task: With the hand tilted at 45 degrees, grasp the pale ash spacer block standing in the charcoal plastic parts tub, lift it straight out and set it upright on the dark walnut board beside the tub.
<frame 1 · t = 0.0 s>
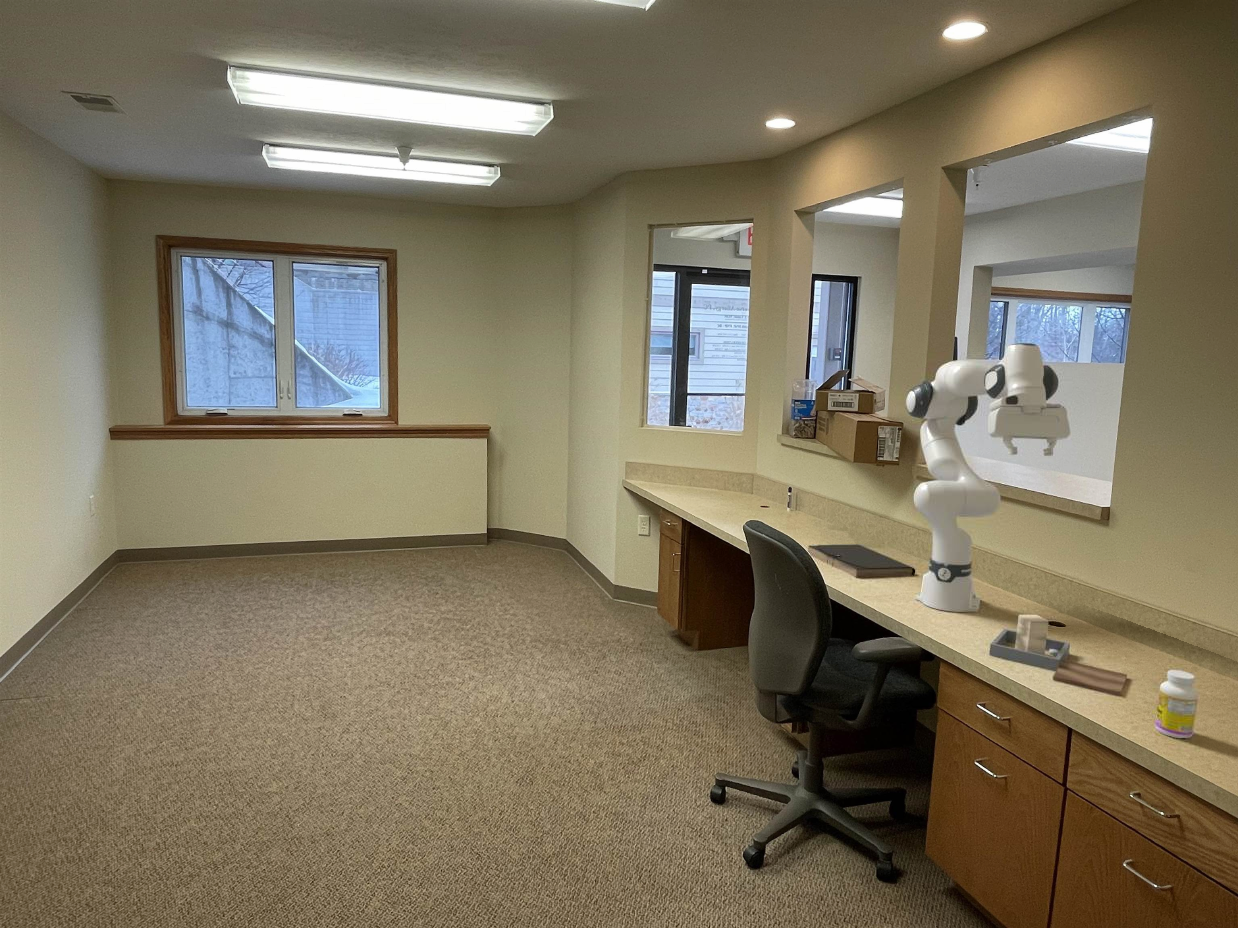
hand: (1030, 455, 211), 52 cm above the table, tool tilted 20°, fingers open, 8 cm apart
supplement bottle: (1172, 733, 172), on the table
ash spacer block: (1031, 636, 214), in the parts tub
walnut board: (1090, 679, 199), on the table
dark flat wooden case: (858, 565, 301), on the table
parts tub: (1029, 654, 215), on the table
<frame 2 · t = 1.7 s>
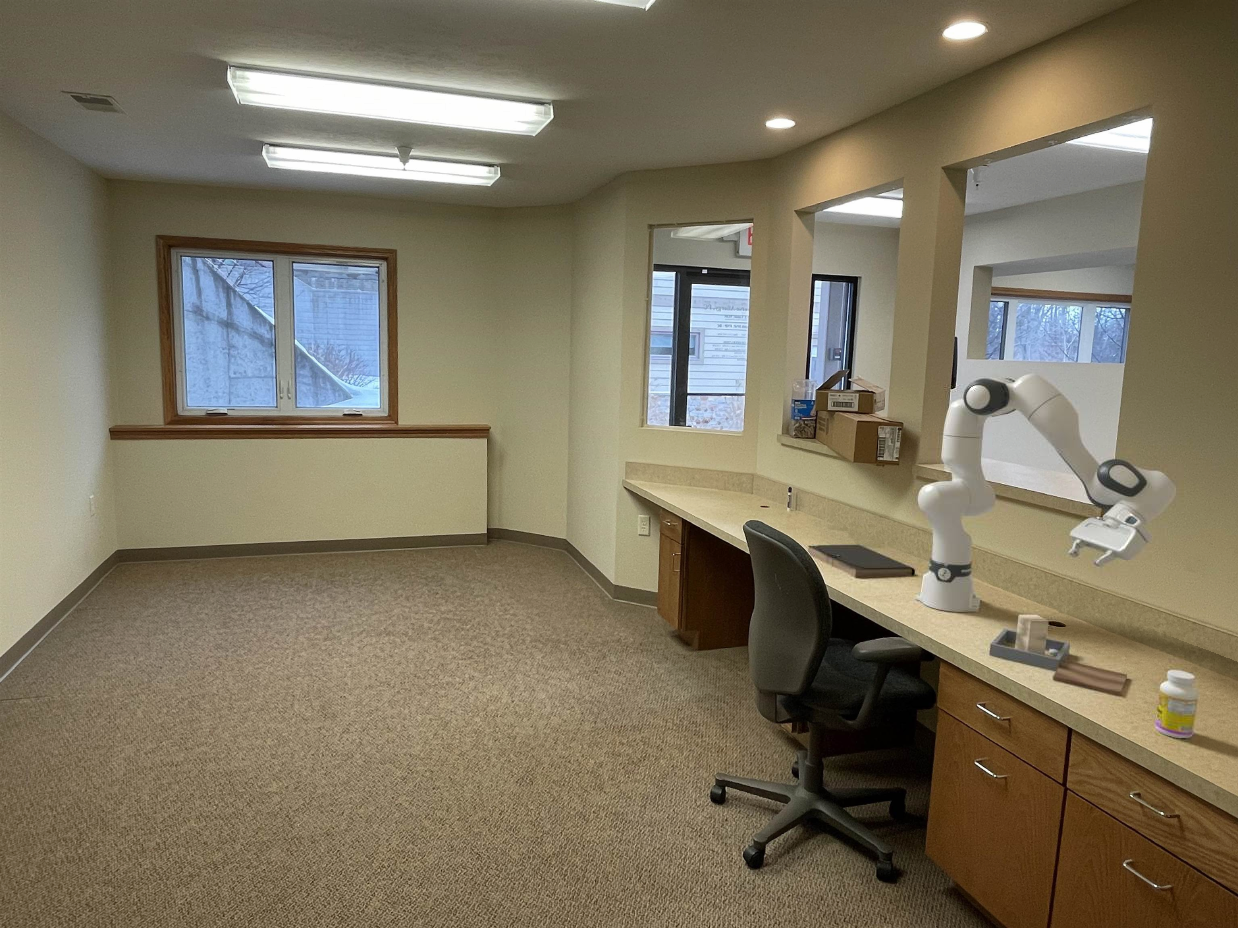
hand: (1083, 559, 213), 25 cm above the table, tool tilted 45°, fingers open, 8 cm apart
nothing on the table moved.
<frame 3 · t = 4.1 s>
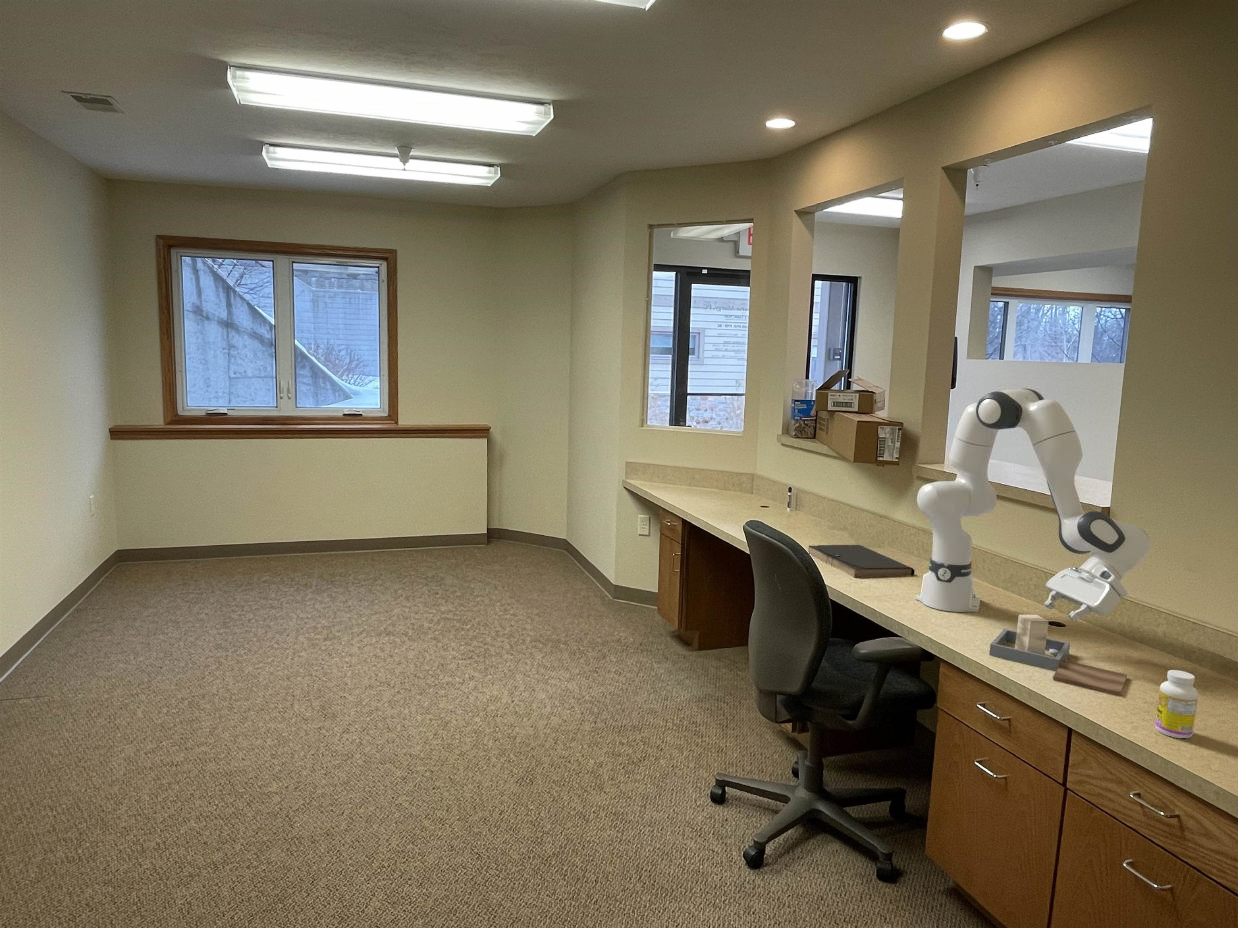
hand: (1058, 612, 214), 11 cm above the table, tool tilted 45°, fingers open, 8 cm apart
nothing on the table moved.
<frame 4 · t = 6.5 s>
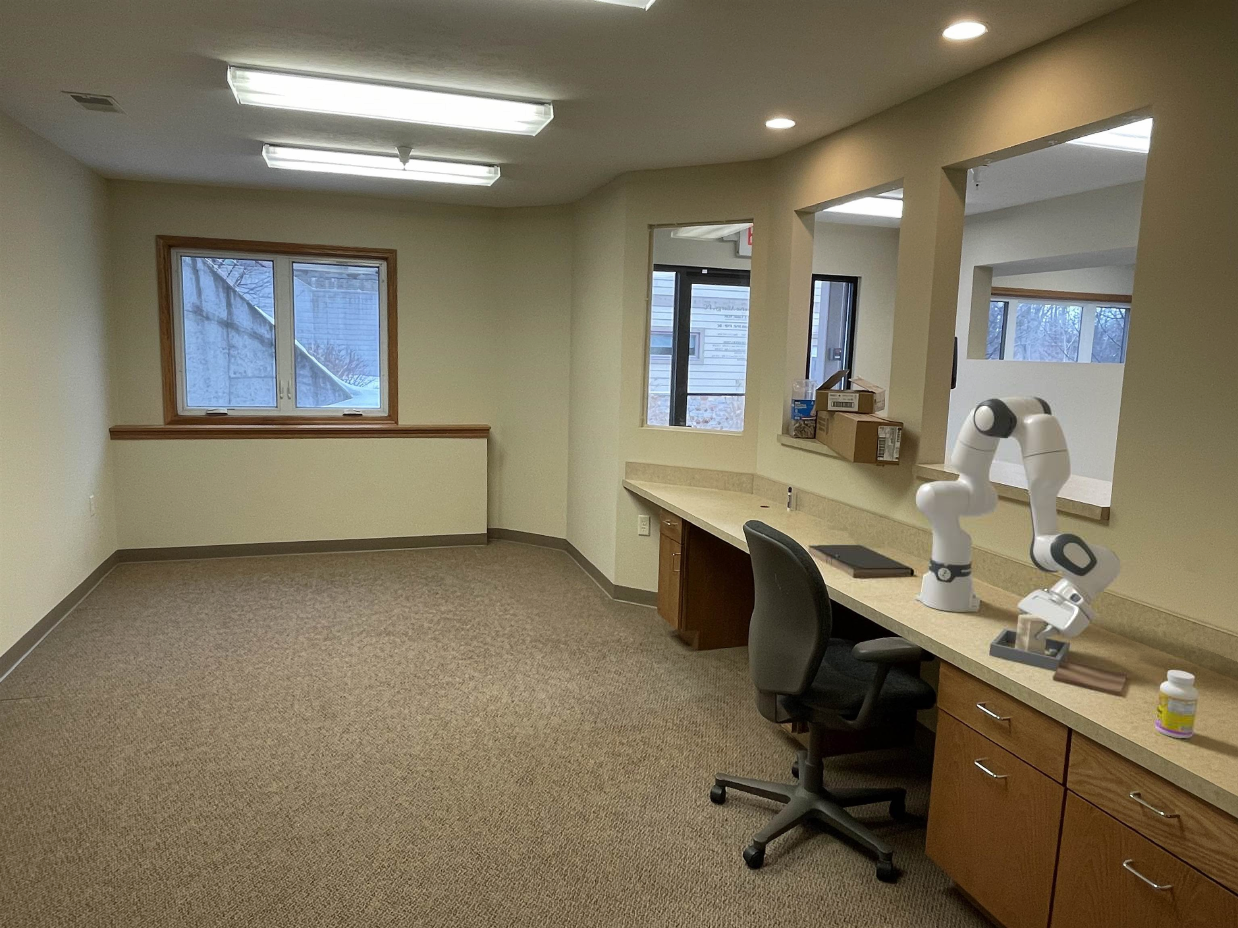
hand: (1029, 634, 214), 5 cm above the table, tool tilted 45°, fingers closed on ash spacer block, 5 cm apart
ash spacer block: (1031, 636, 214), in the parts tub, touching gripper
everything else where it was.
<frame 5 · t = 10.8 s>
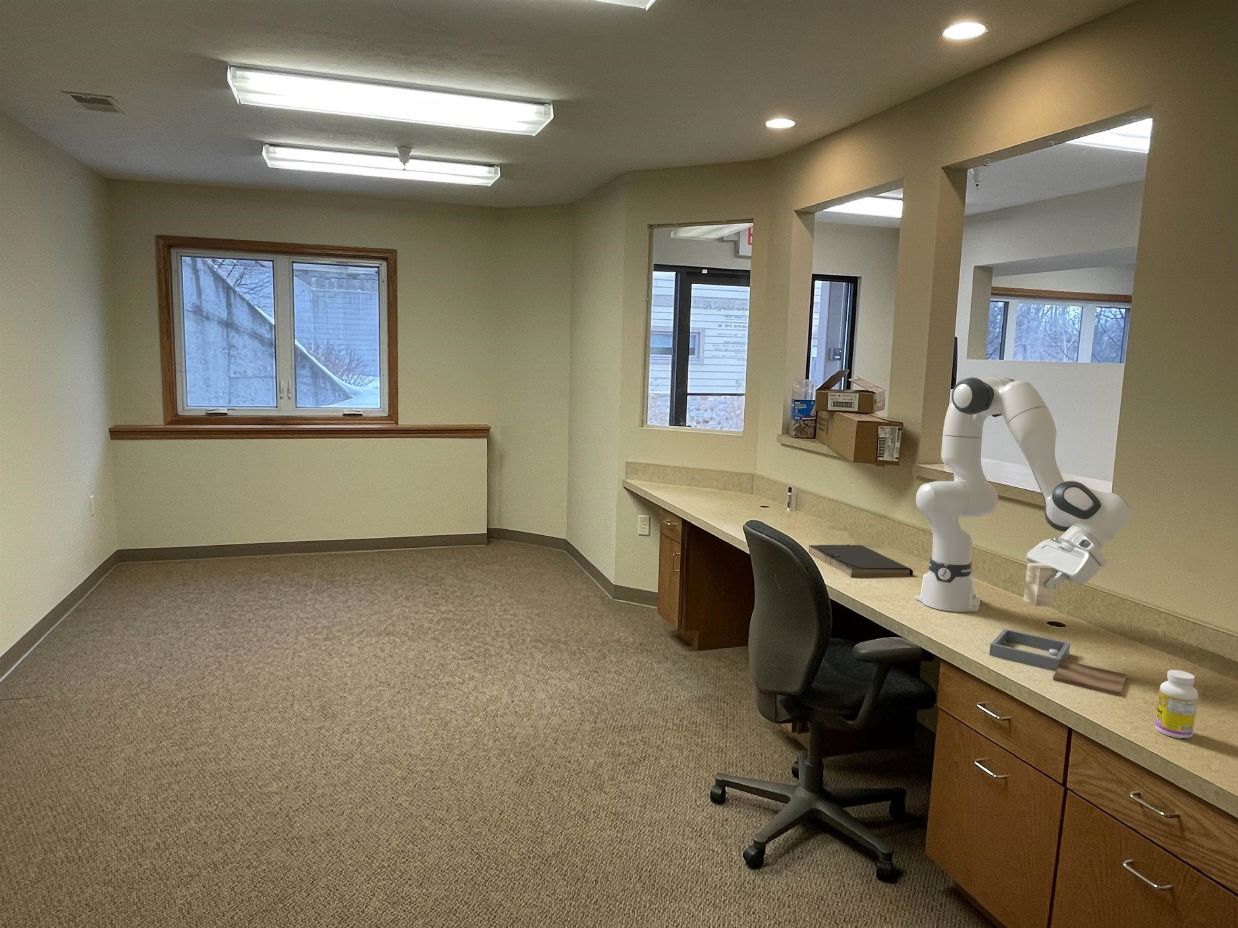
hand: (1038, 582, 211), 20 cm above the table, tool tilted 45°, fingers closed on ash spacer block, 5 cm apart
ash spacer block: (1040, 584, 211), point 19 cm above the table, touching gripper
everything else where it was.
when the fingers open (8 cm above the table, at t = 15.2 s): ash spacer block drops 1 cm, resting on walnut board.
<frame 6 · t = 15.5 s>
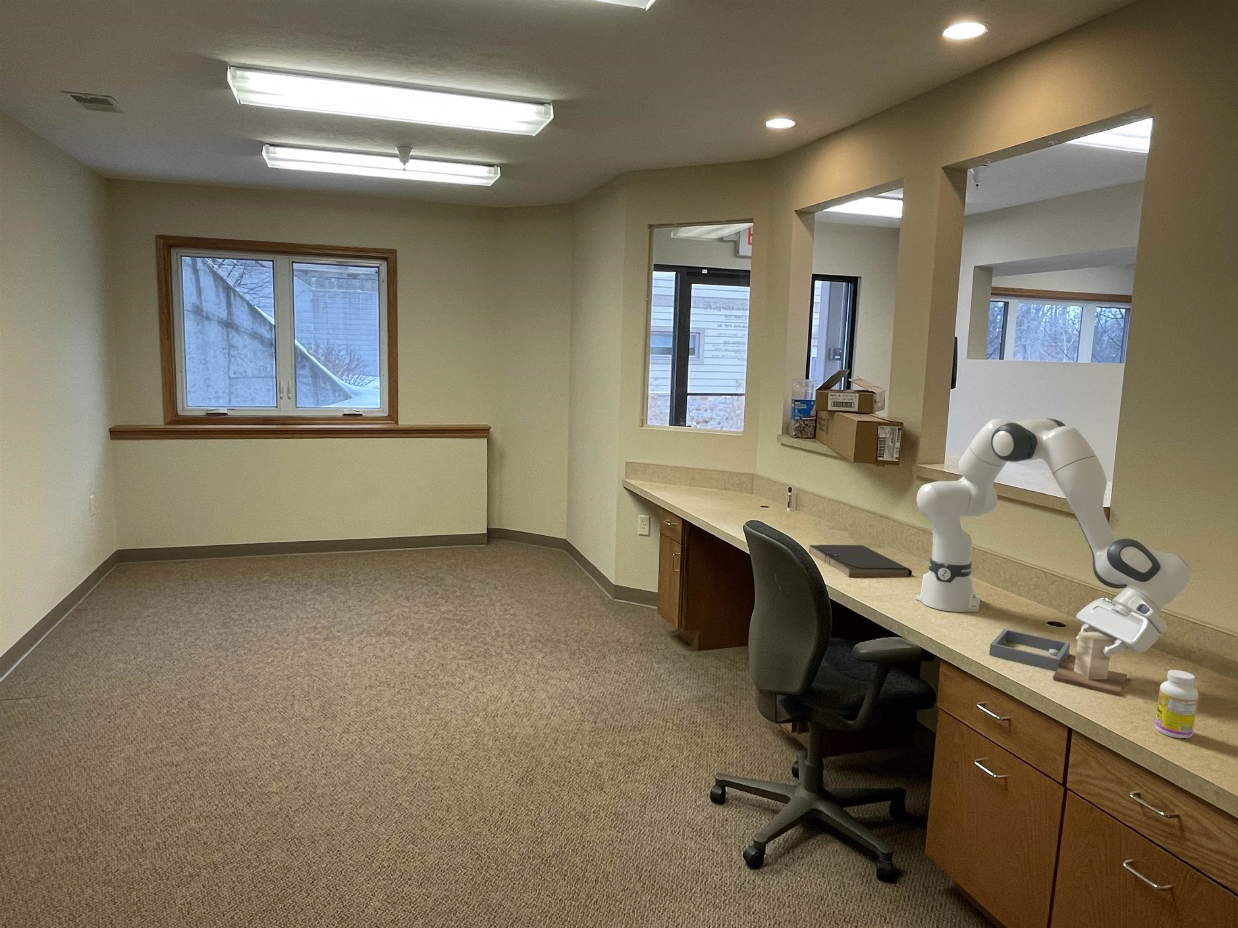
hand: (1091, 648, 198), 8 cm above the table, tool tilted 45°, fingers open, 7 cm apart
ash spacer block: (1092, 655, 199), on the walnut board, point 6 cm above the table
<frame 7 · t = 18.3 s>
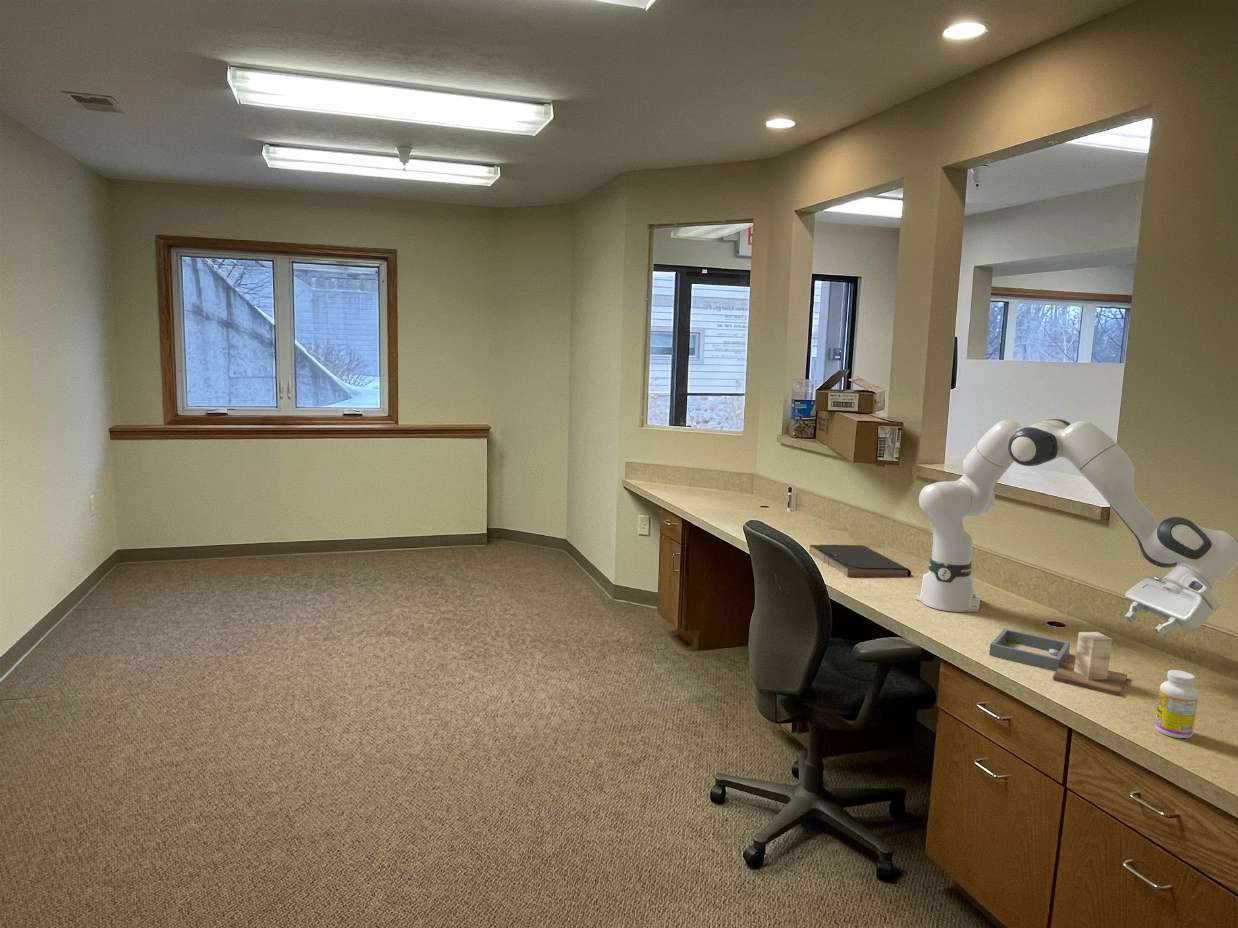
hand: (1142, 625, 199), 13 cm above the table, tool tilted 45°, fingers open, 8 cm apart
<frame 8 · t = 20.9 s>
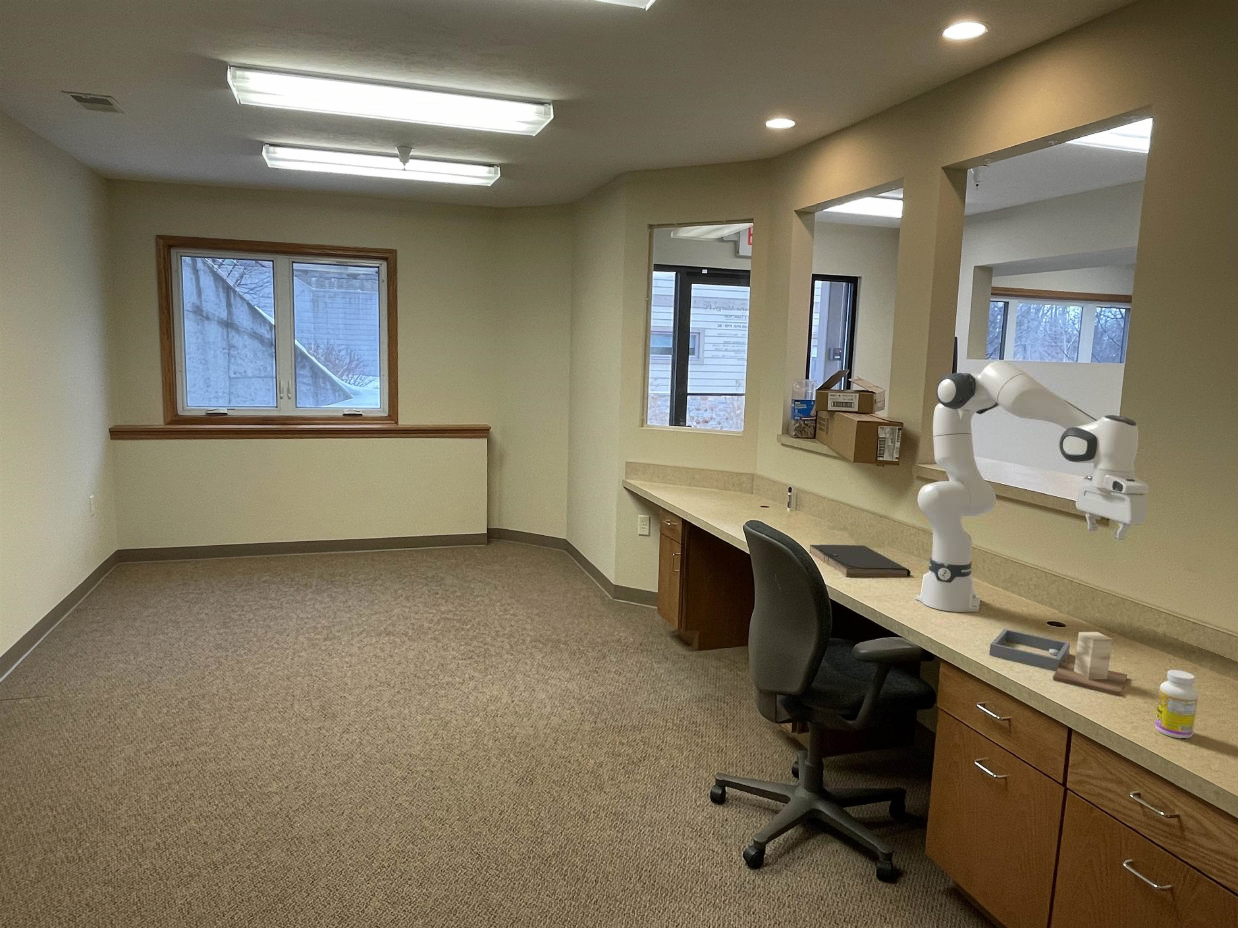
hand: (1105, 534, 208), 33 cm above the table, tool pointing down, fingers open, 8 cm apart
at the end: ash spacer block inside the target area on the walnut board (0.1 cm from its centre), point 6.0 cm above the walnut board's base; ash spacer block tilted 0°; the gripper is holding nothing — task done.
